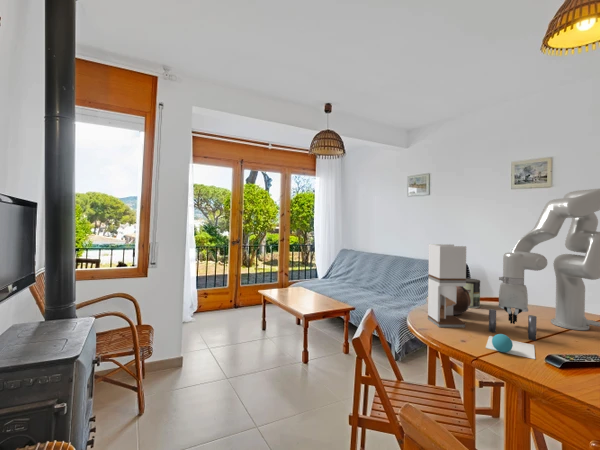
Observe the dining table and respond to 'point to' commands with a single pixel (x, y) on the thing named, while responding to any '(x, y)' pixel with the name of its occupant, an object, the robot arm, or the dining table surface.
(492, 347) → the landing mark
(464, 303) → the wooden sphere
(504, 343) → the ball
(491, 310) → the left post
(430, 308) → the white tower on base
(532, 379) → the dining table surface
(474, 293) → the coffee can
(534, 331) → the right post
